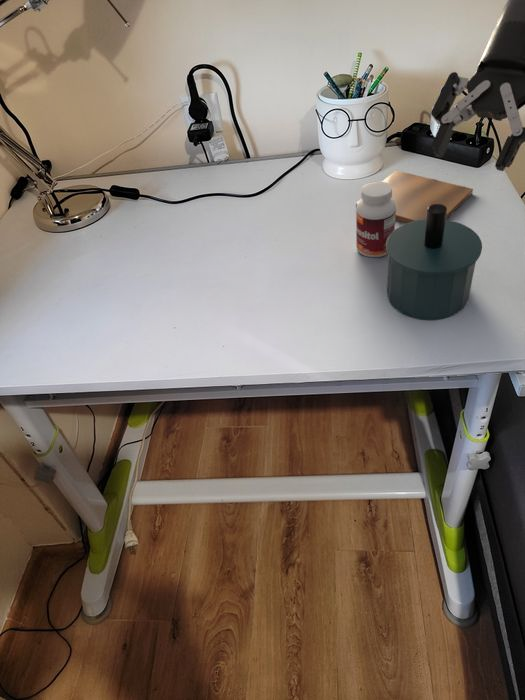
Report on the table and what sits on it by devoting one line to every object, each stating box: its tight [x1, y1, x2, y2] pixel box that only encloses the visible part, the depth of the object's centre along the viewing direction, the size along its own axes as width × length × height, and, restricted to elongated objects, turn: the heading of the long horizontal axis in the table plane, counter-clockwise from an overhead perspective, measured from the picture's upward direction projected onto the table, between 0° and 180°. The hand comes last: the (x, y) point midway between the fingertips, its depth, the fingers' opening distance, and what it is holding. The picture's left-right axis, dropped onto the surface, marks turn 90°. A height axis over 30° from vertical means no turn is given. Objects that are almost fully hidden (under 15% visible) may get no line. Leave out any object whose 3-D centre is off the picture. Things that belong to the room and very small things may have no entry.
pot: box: [386, 257, 477, 321], centre depth 73 cm, size 12×12×8 cm
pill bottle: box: [355, 180, 396, 258], centre depth 82 cm, size 6×6×11 cm
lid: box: [386, 204, 483, 275], centre depth 68 cm, size 13×13×7 cm
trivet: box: [355, 169, 474, 224], centre depth 94 cm, size 16×14×1 cm
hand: (467, 161), depth 67 cm, fingers open, 8 cm apart
